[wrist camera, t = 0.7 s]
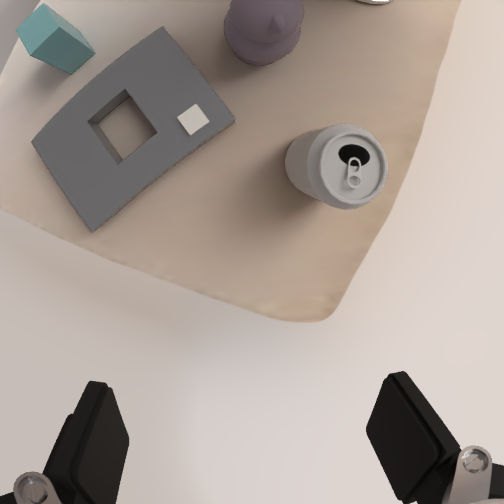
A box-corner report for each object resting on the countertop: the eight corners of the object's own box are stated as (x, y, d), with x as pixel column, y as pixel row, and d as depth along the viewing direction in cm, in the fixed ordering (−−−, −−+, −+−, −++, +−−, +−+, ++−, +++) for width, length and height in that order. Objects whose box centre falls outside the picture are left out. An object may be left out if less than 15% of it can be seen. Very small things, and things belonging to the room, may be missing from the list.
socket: (167, 35, 28) (161, 24, 25) (234, 122, 32) (236, 118, 29) (43, 141, 30) (28, 141, 27) (101, 226, 34) (90, 233, 31)
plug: (79, 30, 26) (43, 2, 17) (95, 53, 28) (59, 26, 18) (56, 51, 27) (15, 29, 17) (71, 74, 28) (29, 55, 19)
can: (346, 136, 34) (399, 131, 22) (341, 197, 36) (389, 217, 25) (285, 128, 33) (316, 114, 22) (280, 192, 35) (307, 209, 24)
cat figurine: (228, 9, 28) (231, -45, 16) (293, 18, 29) (322, -30, 17) (219, 69, 30) (217, 29, 19) (287, 77, 31) (317, 43, 20)
